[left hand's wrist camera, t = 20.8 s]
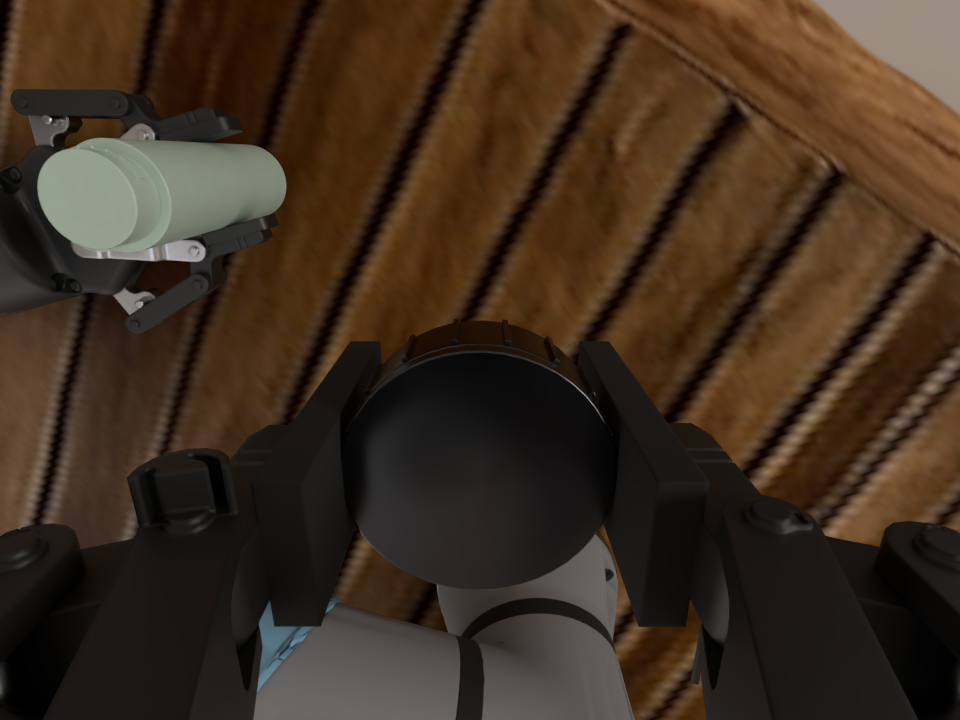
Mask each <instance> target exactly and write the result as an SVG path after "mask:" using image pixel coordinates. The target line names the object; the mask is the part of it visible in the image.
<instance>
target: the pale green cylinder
mask: <svg viewBox="0 0 960 720" xmlns="http://www.w3.org/2000/svg"><path fill="white" fill-rule="evenodd" d="M37 190H38V197H39V201H40V204H41V207H42V209H43V211H44V213H45V215H46V217H47V218H48V220H49V221H50V223H51V224H52V225H53V226H54V227H55V229H56V230H57V231H58V232H60V233H61V234H62V235H63V236H64V237H66V238H67V239H69V240H70V241H71V242H72V243H74V244H77V245H79V246H81V247H83V249H88V250H93V251H96V252H108V251H112V250H113V251H117V252H125V253H132V252H139V251H143V250H147V249H150V248H154V247H157V246H161V245H164V244H168V243H172V242H175V241H179V240H182V239H186V238H189V237H193V236H197V235H200V234H204V233H207V232H211V231H215V230H218V229H221V228H224V227H228V226H231V225H235V224H238V223H242V222H245V221H249V220H252V219H256V218H259V217H263V216H267V215H270V214H272V213H273V212H275V211H276V210H277V209H278V208H279V207H280V205H281V204H282V202H283V200H284V198H285V194H286V179H285V175H284V172H283V169H282V167H281V166H280V164H279V162H278V161H277V160H276V159H275V158H274V157H273V156H272V155H271V154H270V153H269V152H267V151H266V150H264V149H262V148H260V147H257V146H254V145H243V144H222V143H201V142H180V141H159V140H138V139H117V138H93V139H90V140H86V141H84V142H81V143H80V144H78V145H77V146H75V147H72V148H69V149H65V150H61V151H59V152H57V153H55V154H54V155H52V156H51V157H50V158H49V159H48V160H47V161H46V162H45V163H44V165H43V166H42V168H41V170H40V173H39V176H38V182H37Z"/></svg>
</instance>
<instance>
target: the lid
mask: <svg viewBox="0 0 960 720" xmlns="http://www.w3.org/2000/svg"><path fill="white" fill-rule="evenodd" d="M364 393H365V396H364V398H363V400H362V401H360V402H359V404H358V406H357V408H356V410H355V412H354V414H353V416H352V418H351V420H350V422H349V424H348V426H347V428H346V430H345V435H346V438H345V441H344V444H343V450H342V456H341V465H342V476H343V486H344V495H345V501H346V504H347V507H348V510H349V512H350V514H351V516H352V518H353V521H354V522H355V524H356V526H357V527H358V529H359V530H360V532H361V533H362V535H363V536H364V537H365V538H366V540H367V541H368V542H369V543H370V544H371V546H372V547H373V548H374V549H375V550H377V551H378V552H379V553H380V554H381V555H382V556H383V557H384V558H386V559H387V560H388V561H390V562H391V563H392V564H394V565H395V566H396V567H398V568H400V569H402V570H404V571H405V572H407V573H409V574H411V575H413V576H415V577H418V578H420V579H422V580H425V581H428V582H431V583H434V584H438V585H441V586H446V587H451V588H457V589H467V590H492V589H500V588H507V587H512V586H516V585H520V584H524V583H527V582H530V581H532V580H535V579H538V578H540V577H542V576H544V575H547V574H549V573H551V572H553V571H554V570H556V569H558V568H559V567H561V566H562V565H564V564H566V563H567V562H568V561H569V560H571V559H572V558H573V557H574V556H576V555H577V554H578V553H579V552H580V551H581V550H582V549H583V548H584V547H585V546H586V545H587V544H588V543H589V542H590V541H591V539H592V538H593V537H594V535H595V534H596V533H597V531H598V530H599V528H600V527H601V525H602V523H603V521H604V519H605V518H606V516H607V513H608V511H609V508H610V506H611V503H612V500H613V496H614V491H615V487H616V477H617V462H616V452H615V448H614V444H613V439H614V435H613V433H612V430H611V428H610V426H609V424H608V422H607V420H606V418H605V416H604V414H603V412H602V410H601V408H600V406H599V404H598V405H597V403H596V401H595V399H594V397H595V396H596V394H595V392H594V390H593V388H592V386H591V384H590V382H589V380H588V378H587V376H586V374H585V372H584V370H583V368H582V367H581V366H580V367H578V368H577V367H576V366H575V364H574V363H573V362H572V361H571V360H570V358H568V357H567V356H566V355H565V354H564V353H563V352H562V351H561V350H560V349H559V348H558V347H556V346H555V345H554V344H553V342H552V339H551V338H550V337H548V336H547V337H546V338H545V339H544V338H543V337H541V336H539V335H537V334H535V333H533V332H531V331H528V330H526V329H523V328H520V327H518V326H514V325H510V324H508V320H502V323H501V322H492V321H465V322H460V320H459V319H454V323H452V324H448V325H444V326H441V327H437V328H434V329H432V330H430V331H427V332H425V333H423V334H420V335H419V336H417V337H416V336H415V335H414V334H413V335H411V336H410V337H409V340H408V342H407V343H405V344H404V345H403V346H402V347H400V348H399V349H398V350H397V351H395V352H394V353H393V354H392V355H391V356H390V357H389V358H388V360H387V361H386V362H385V363H384V364H383V365H381V364H380V363H379V364H378V365H377V367H376V369H375V371H374V373H373V375H372V377H371V379H370V381H369V383H368V385H367V387H366V389H365V390H364Z"/></svg>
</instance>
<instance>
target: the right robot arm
mask: <svg viewBox="0 0 960 720" xmlns="http://www.w3.org/2000/svg"><path fill="white" fill-rule="evenodd" d="M11 103H12V106H13V107H14V109H15V110H16V111H17V112H18V113H20V114H22V115H28V117H29V120H30V124H31V128H32V132H33V136H34V140H35V143H36V146H34V147H33V148H31V149H30V150H29V151H28V152H27V154H26V155H25V157H24V158H23V159H22V160H21V161H20V162H18V163H16V164H13V165H10V166H7V167H4V168H1V169H0V317H3V316H6V315H12V314H17V313H19V312H22V311H24V310H28V309H31V308H35V307H39V306H42V305H46V304H49V303H53V302H57V301H60V300H64V299H67V298H71V297H75V296H78V295H82V294H85V293H97V294H101V295H108V296H109V295H113V296H114V297H115V298H116V300H117V301H118V302H119V303H120V304H121V305H122V307H123V308H124V309H125V310H126V311H127V313H128V314H129V316H127V317H126V319H125V325H126V327H127V329H128V330H129V331H130V332H132V333H134V334H141V333H143V332H145V331H147V330H149V329H150V328H152V327H154V326H156V325H158V324H160V323H162V322H164V321H166V320H167V319H169V318H170V317H172V316H173V315H175V314H177V313H178V312H180V311H181V310H183V309H185V308H186V307H188V306H189V305H191V304H192V303H194V302H196V301H197V300H199V299H200V298H202V297H204V296H205V295H207V294H208V293H210V292H211V291H213V290H215V289H216V288H218V287H219V286H221V285H223V284H224V283H225V282H226V279H227V275H226V273H225V271H224V270H223V269H222V258H223V256H224V255H225V254H227V253H230V252H234V251H237V250H241V249H245V248H248V247H252V246H255V245H258V244H261V243H263V242H266V241H267V240H268V239H270V238H271V237H272V233H271V230H270V228H271V227H274V226H277V225H279V224H278V221H277V219H276V216H275V214H270V215H267V216H263V217H259V218H256V219H252V220H249V221H245V222H242V223H238V224H235V225H231V226H228V227H224V228H221V229H218V230H215V231H211V232H207V233H204V234H200V235H197V236H193V237H189V238H186V239H182V240H179V241H175V242H172V243H168V244H164V245H161V246H157V247H154V248H150V249H147V250H143V251H139V252H132V253H125V252H117V251H113V250H112V251H108V252H96V251H93V250H88V249H83V247H81V246H79V245H77V244H74V243H72V242H71V241H70V240H69V239H67V238H66V237H64V236H63V235H62V234H61V233H60V232H58V231H57V230H56V229H55V227H54V226H53V225H52V224H51V223H50V221H49V220H48V218H47V217H46V215H45V213H44V211H43V209H42V207H41V204H40V201H39V197H38V190H37V182H38V176H39V173H40V170H41V168H42V166H43V165H44V163H45V162H46V161H47V160H48V159H49V158H50V157H51V156H52V155H54V154H55V153H57V152H59V151H61V150H65V149H69V147H66V146H65V144H64V141H65V138H66V136H67V135H69V134H72V133H76V132H77V131H78V130H79V128H80V127H81V126H82V120H81V119H80V118H88V119H120V120H121V121H122V122H123V123H124V124H125V126H126V127H127V128H128V129H129V131H128V132H126V133H125V134H124V135H123V136H122V137H120V138H119V139H138V140H159V141H180V142H201V143H208V142H211V141H215V140H218V139H221V138H224V137H228V136H231V135H234V134H238V133H241V132H243V130H242V127H241V125H240V122H239V120H238V118H236V117H230V116H226V115H225V113H224V111H220V110H214V109H207V108H199V109H196V110H193V111H189V112H186V113H183V114H180V115H176V116H173V117H170V118H167V119H161V118H160V117H159V116H158V115H157V113H156V112H155V111H154V105H153V103H152V101H151V100H150V99H149V98H148V97H146V96H144V95H139V94H127V93H124V92H121V91H116V90H27V89H19V90H15V91H14V92H13V93H12V95H11ZM162 260H174V261H189V262H190V272H191V276H189V277H188V278H186V279H185V280H183V281H181V282H180V283H178V284H177V285H175V286H174V287H172V288H171V289H169V290H167V291H166V292H162V291H160V290H158V289H156V288H150V289H147V290H141V289H138V288H137V287H136V286H135V285H134V284H135V283H136V281H137V279H138V278H139V276H140V274H141V273H142V271H143V269H144V268H145V266H146V264H147V263H148V261H162Z"/></svg>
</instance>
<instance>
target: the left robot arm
mask: <svg viewBox="0 0 960 720" xmlns="http://www.w3.org/2000/svg"><path fill="white" fill-rule="evenodd" d="M379 363H380V364H381V350H380V342H350V343H349V345H348V346H347V347H346V349H345V350H344V352H343V353H342V354H341V356H340V357H339V359H338V360H337V361H336V363H335V364H334V365H333V367H332V368H331V370H330V371H329V372H328V374H327V375H326V377H325V378H324V379H323V381H322V382H321V384H320V385H319V386H318V388H317V389H316V391H315V392H314V393H313V395H312V396H311V398H310V399H309V400H308V402H307V403H306V405H305V406H304V407H303V409H302V410H301V412H300V413H299V414H298V416H297V417H296V418H295V420H294V421H293V423H292V424H291V425H268V426H266V427H265V428H263V429H261V430H260V431H258V432H256V433H254V434H253V435H251V436H249V437H248V439H247V440H246V441H245V442H244V443H243V445H242V446H241V447H240V448H239V449H238V452H237V453H235V454H234V455H233V457H232V458H231V459H230V460H229V456H227V455H226V454H224V453H223V452H222V451H218V450H213V449H208V448H200V449H186V450H181V451H176V452H171V453H168V454H165V455H163V456H160V457H157V458H154V459H152V460H150V461H148V462H146V463H145V464H143V465H141V466H139V467H138V468H136V469H135V470H134V471H133V472H132V473H131V474H130V475H129V476H128V477H127V480H128V484H129V488H130V492H131V496H132V500H133V503H134V507H135V511H136V515H137V519H138V523H139V527H140V528H139V530H138V532H137V534H136V536H135V538H133V539H130V540H126V541H121V542H116V543H111V544H106V545H100V546H95V547H90V548H85V549H80V545H79V542H78V539H77V536H76V533H75V531H74V530H72V529H71V528H70V527H68V526H67V525H59V524H44V525H36V526H27V527H23V528H21V529H19V530H18V529H16V530H12V531H9V532H7V533H4V534H3V535H2V536H0V720H634V716H633V713H632V709H631V706H630V702H629V698H628V695H627V691H626V688H625V684H624V680H623V677H622V673H621V669H620V666H619V662H618V659H617V655H616V652H615V648H614V644H613V633H614V623H615V614H616V605H617V596H618V581H617V571H616V567H615V563H614V560H613V557H612V554H611V551H610V549H609V546H608V544H607V542H606V541H605V539H604V537H603V536H602V535H601V533H600V532H599V531H597V533H596V534H595V535H594V537H593V538H592V539H591V541H590V542H589V543H588V544H587V545H586V546H585V547H584V548H583V549H582V550H581V551H580V552H579V553H578V554H577V555H576V556H574V557H573V558H572V559H571V560H569V561H568V562H567V563H566V564H564V565H562V566H561V567H559V568H558V569H556V570H554V571H553V572H551V573H549V574H547V575H544V576H542V577H540V578H538V579H535V580H532V581H530V582H527V583H524V584H520V585H516V586H512V587H507V588H500V589H492V590H467V589H457V588H451V587H446V586H441V585H438V584H437V593H438V599H439V605H440V608H441V611H442V614H443V616H444V620H445V623H446V627H447V630H448V633H447V632H443V631H440V630H436V629H432V628H428V627H424V626H420V625H417V624H413V623H409V622H405V621H401V620H397V619H394V618H390V617H386V616H383V615H379V614H376V613H372V612H369V611H365V610H362V609H358V608H355V607H351V606H347V605H344V604H340V599H337V598H331V596H332V593H333V590H334V587H335V584H336V581H337V578H338V575H339V572H340V569H341V566H342V563H343V560H344V558H345V555H346V552H347V549H348V546H349V543H350V540H351V537H352V534H353V531H354V528H355V525H356V524H355V522H354V521H353V518H352V516H351V514H350V512H349V510H348V507H347V504H346V501H345V495H344V486H343V476H342V465H341V456H342V450H343V444H344V441H345V438H346V435H345V430H346V428H347V426H348V424H349V422H350V420H351V418H352V416H353V414H354V412H355V410H356V408H357V406H358V404H359V402H360V401H362V400H363V398H364V396H365V393H364V390H365V389H366V387H367V385H368V383H369V381H370V379H371V377H372V375H373V373H374V371H375V369H376V367H377V365H378V364H379ZM580 366H581V367H582V368H583V370H584V372H585V374H586V376H587V378H588V380H589V382H590V384H591V386H592V388H593V390H594V392H595V394H596V396H595V397H594V399H595V401H596V403H597V405H598V404H599V406H600V408H601V410H602V412H603V414H604V416H605V418H606V420H607V422H608V424H609V426H610V428H611V430H612V433H613V435H614V439H613V444H614V448H615V452H616V462H617V477H616V487H615V491H614V496H613V500H612V503H611V506H610V508H609V511H608V513H607V516H606V518H605V519H604V521H603V523H604V526H605V529H606V532H607V535H608V538H609V541H610V544H611V547H612V550H613V553H614V556H615V559H616V561H617V564H618V567H619V570H620V573H621V576H622V579H623V582H624V585H625V588H626V591H627V594H628V597H629V600H630V602H631V605H632V608H633V611H634V614H635V617H636V620H637V623H638V626H639V627H685V626H686V620H687V614H688V608H689V602H690V599H691V601H692V603H693V605H694V607H695V609H696V611H697V613H698V615H699V617H700V619H701V627H700V632H699V638H698V643H697V649H696V654H695V660H694V665H693V671H692V678H691V683H693V684H698V683H699V678H700V673H701V679H702V686H703V694H704V702H705V710H706V717H707V720H960V533H958V532H957V531H955V530H953V529H950V528H947V527H944V526H942V527H940V525H936V524H932V523H921V522H913V521H905V522H897V523H893V524H891V525H890V526H889V527H887V528H886V529H885V531H884V534H883V537H882V541H881V544H880V547H877V546H872V545H867V544H862V543H857V542H852V541H847V540H841V539H836V538H832V537H828V536H825V535H824V533H823V531H822V529H821V527H820V526H819V525H818V523H817V522H816V521H815V520H814V519H813V517H812V516H811V515H809V514H808V513H806V512H805V511H803V510H802V509H800V508H799V507H797V506H795V505H793V504H791V503H788V502H786V501H783V500H781V499H778V498H774V497H769V496H765V495H761V494H760V492H759V491H758V490H757V489H756V488H755V487H754V485H753V484H752V483H751V482H750V481H749V479H748V478H747V477H746V476H745V475H744V474H743V472H742V471H741V470H740V469H739V468H738V466H737V465H736V464H735V463H732V459H731V458H730V457H729V456H728V455H727V453H726V452H725V451H722V447H721V446H720V445H719V444H718V443H717V442H716V440H715V439H714V438H713V437H712V436H711V435H710V434H709V433H707V432H705V431H703V430H702V429H700V428H698V427H697V426H695V425H693V424H692V423H667V422H666V420H665V419H664V418H663V416H662V415H661V413H660V412H659V411H658V409H657V408H656V406H655V405H654V404H653V402H652V401H651V399H650V398H649V397H648V395H647V394H646V392H645V391H644V390H643V388H642V387H641V386H640V384H639V383H638V381H637V380H636V379H635V377H634V376H633V374H632V373H631V372H630V370H629V369H628V367H627V366H626V365H625V363H624V362H623V360H622V359H621V358H620V356H619V355H618V353H617V352H616V351H615V349H614V348H613V346H612V345H611V344H610V342H580V345H579V360H578V367H580Z"/></svg>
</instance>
